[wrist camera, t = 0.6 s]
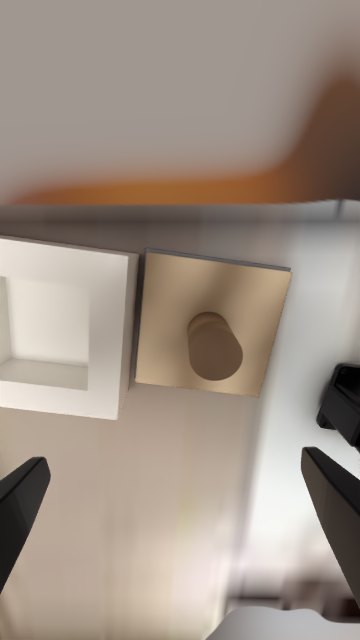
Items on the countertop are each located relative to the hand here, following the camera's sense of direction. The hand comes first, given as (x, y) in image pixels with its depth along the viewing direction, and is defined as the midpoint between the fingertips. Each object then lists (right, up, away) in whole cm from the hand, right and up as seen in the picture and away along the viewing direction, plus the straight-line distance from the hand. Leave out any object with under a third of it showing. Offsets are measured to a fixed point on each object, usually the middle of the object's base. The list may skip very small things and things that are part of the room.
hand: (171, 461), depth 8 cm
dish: (-10, +5, +11) cm, 16 cm away
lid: (+3, +4, +11) cm, 12 cm away
